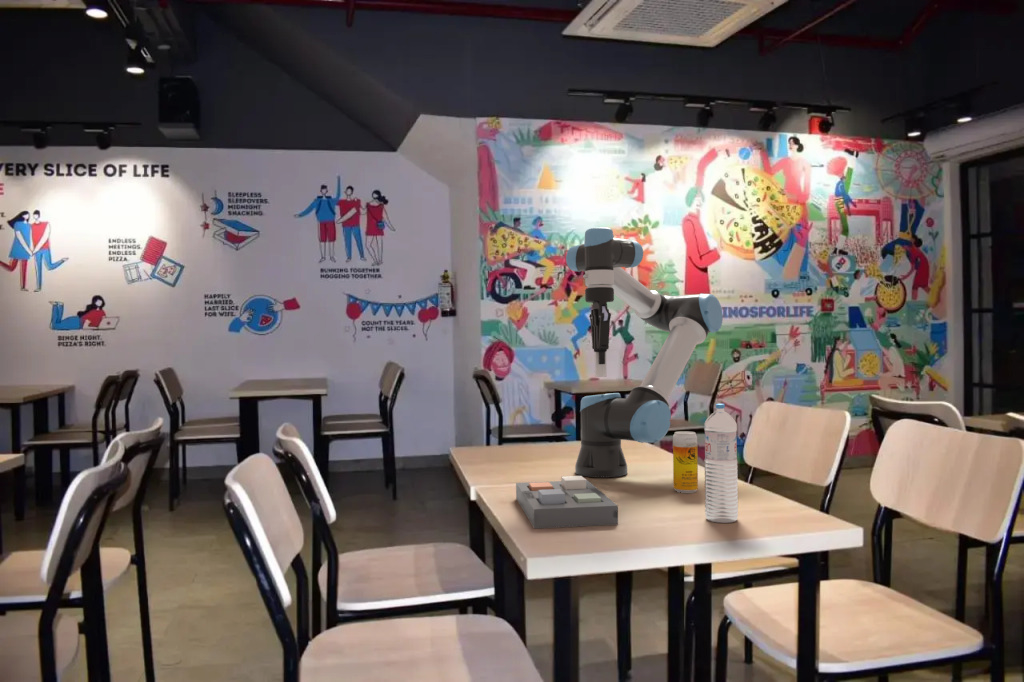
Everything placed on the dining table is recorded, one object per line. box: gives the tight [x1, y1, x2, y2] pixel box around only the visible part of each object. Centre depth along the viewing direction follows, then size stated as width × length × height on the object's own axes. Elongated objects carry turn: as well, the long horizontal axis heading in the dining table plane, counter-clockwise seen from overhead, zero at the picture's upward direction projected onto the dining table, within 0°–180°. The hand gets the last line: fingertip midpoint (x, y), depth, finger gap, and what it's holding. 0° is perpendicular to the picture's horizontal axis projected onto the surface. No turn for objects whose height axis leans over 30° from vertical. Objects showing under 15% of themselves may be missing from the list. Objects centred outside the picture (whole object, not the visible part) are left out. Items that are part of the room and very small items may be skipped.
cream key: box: [560, 475, 587, 490], centre depth 173 cm, size 5×5×3 cm
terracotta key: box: [529, 481, 553, 491], centre depth 172 cm, size 5×5×3 cm
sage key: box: [574, 493, 601, 503], centre depth 159 cm, size 5×5×3 cm
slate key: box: [538, 489, 565, 505], centre depth 158 cm, size 5×5×3 cm
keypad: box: [515, 479, 619, 529], centre depth 166 cm, size 18×28×4 cm, turn 7°
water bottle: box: [703, 403, 739, 524], centre depth 156 cm, size 7×7×25 cm
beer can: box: [672, 430, 699, 494], centre depth 185 cm, size 6×6×15 cm
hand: (600, 376), depth 190 cm, fingers closed
